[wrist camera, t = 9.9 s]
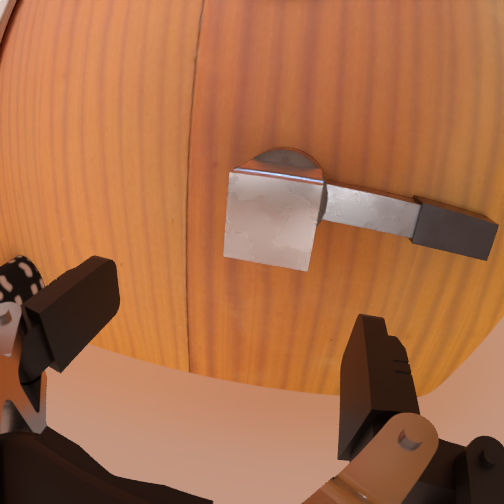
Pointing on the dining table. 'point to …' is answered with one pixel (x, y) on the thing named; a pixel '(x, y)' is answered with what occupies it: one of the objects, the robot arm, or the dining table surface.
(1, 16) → the square plate
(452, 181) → the dining table surface
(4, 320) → the robot arm
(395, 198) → the ratchet
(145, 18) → the dining table surface
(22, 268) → the spotted tube
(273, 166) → the silver block
